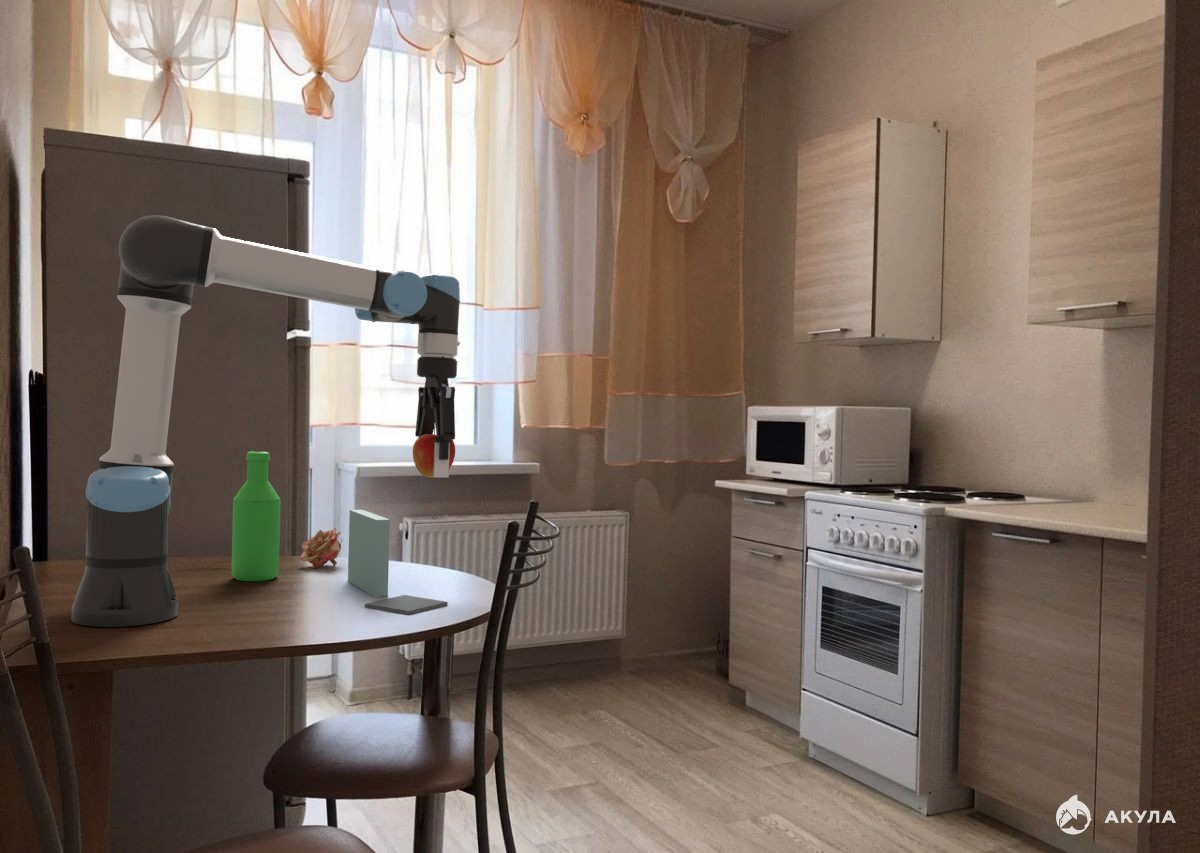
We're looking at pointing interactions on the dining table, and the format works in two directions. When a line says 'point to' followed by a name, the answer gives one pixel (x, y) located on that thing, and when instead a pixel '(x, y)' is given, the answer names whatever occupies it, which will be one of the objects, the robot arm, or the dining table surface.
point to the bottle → (256, 524)
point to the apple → (428, 454)
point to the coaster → (406, 604)
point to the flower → (321, 548)
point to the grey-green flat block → (369, 552)
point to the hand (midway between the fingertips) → (433, 475)
